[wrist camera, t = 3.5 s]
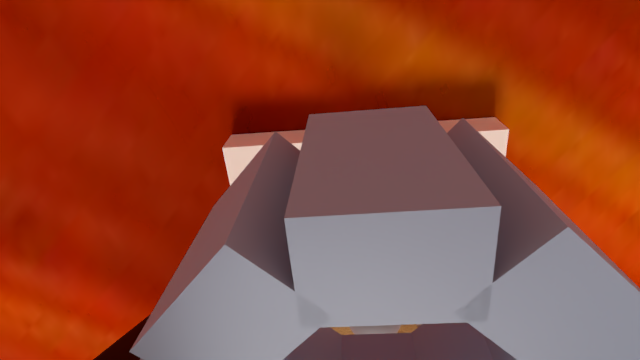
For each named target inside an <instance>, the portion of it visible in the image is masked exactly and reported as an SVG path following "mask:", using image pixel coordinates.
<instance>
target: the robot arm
mask: <svg viewBox="0 0 640 360" xmlns="http://www.w3.org/2000/svg"><path fill="white" fill-rule="evenodd" d="M150 315H151V314H150ZM150 315H149V316H148V317H146V318H145V319H144V320H143V321H141V322H140V323H139V324H138V325H136V326H135V327H134V328H133V329H131V330H130V331H129V332H128V333H126V334H125V335H124V336H122V337H121V338H120V339H119V340H117V341H116V342H115V343H114V344H112V345H111V346H110V347H109V348H107V349H106V350H105V351H104V352H102V353H101V354H100V355H99V356H97V357H96V358H95V359H93V360H140V357H138V356H136V355H134V354H132V353H130V352H129V351H130V350H131V348H132V346H133V344H134V343H135V341H136V339H137V338H138V336H139V334H140V332H141V331H142V329H143V327H144V325H145V324H146V322H147V320H148V319H149V317H150Z"/></svg>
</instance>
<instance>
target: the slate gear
mask: <svg viewBox="0 0 640 360" xmlns="http://www.w3.org/2000/svg"><path fill="white" fill-rule="evenodd" d="M409 324H422V325H421V326H419V327H418V328H417V329H415V330H414V331H413V332H411V333H385V334H355V335H341V334H339V333H338V332H336V331H335V330H333V329H332V328H330V327H351V326H380V325H409ZM129 352H130V353H132V354H134V355H136V356H138V357H140V360H640V288H639V287H638V286H637V285H636V284H635V283H634V282H633V281H632V280H631V279H630V278H629V277H628V276H627V275H626V274H625V273H624V272H623V271H622V270H621V269H620V268H619V267H618V266H617V265H616V264H615V263H614V262H613V261H612V260H611V259H610V258H609V257H608V256H607V255H606V254H605V253H603V252H602V251H601V250H600V249H599V248H598V247H597V246H596V245H595V244H594V243H593V242H592V241H591V240H590V239H589V238H588V237H587V236H586V235H585V234H584V233H583V232H582V231H581V230H580V229H579V228H578V227H577V226H576V225H575V224H574V223H573V222H572V221H571V220H570V219H569V218H568V217H567V216H566V215H565V214H564V213H563V212H562V211H561V210H560V209H559V208H558V207H557V206H556V205H555V204H554V203H553V202H552V201H551V200H550V199H549V198H548V197H547V196H546V195H545V194H544V193H543V192H542V191H541V190H540V189H539V188H538V187H537V186H536V185H535V184H534V183H533V182H532V181H531V180H530V179H529V178H528V177H526V176H525V175H524V174H523V173H522V172H521V171H520V170H519V169H518V168H517V167H516V166H515V165H513V164H512V163H511V162H510V161H509V160H508V159H507V158H506V157H505V156H504V155H503V154H502V153H501V152H499V151H498V150H497V149H496V148H495V147H494V146H493V145H492V144H491V143H490V142H489V141H488V140H487V139H485V138H484V137H483V136H482V135H481V134H480V133H479V132H478V131H477V130H476V129H475V128H474V127H473V126H471V125H470V124H469V123H468V122H467V121H466V120H465V119H464V118H462V119H461V120H460V121H459V122H458V123H457V124H456V125H455V126H454V127H452V128H451V129H450V130H449V131H448V132H447V133H446V131H445V130H444V129H443V127H442V126H441V125H440V123H439V122H438V121H437V119H436V118H435V117H434V115H433V114H432V113H431V111H430V110H429V109H428V107H427V106H412V107H399V108H386V109H373V110H360V111H347V112H334V113H321V114H309V117H308V121H307V125H306V129H305V133H304V137H303V141H302V146H301V150H299V149H297V148H296V147H295V146H294V145H292V144H291V143H290V142H289V141H287V140H286V139H285V138H283V137H282V136H281V135H280V134H278V133H277V132H276V131H275V132H274V134H273V135H272V136H271V137H270V138H269V140H268V141H267V142H266V143H265V145H264V146H263V147H262V148H261V149H260V151H259V152H258V153H257V154H256V155H255V157H254V158H253V159H252V160H251V161H250V163H249V164H248V165H247V166H246V167H245V169H244V170H243V171H242V172H241V173H240V175H239V176H238V177H237V178H236V180H235V181H234V182H233V183H232V184H231V186H230V187H229V188H228V189H227V190H226V192H225V193H224V194H223V195H222V196H221V198H220V199H219V200H218V201H217V202H216V204H215V205H214V206H213V208H212V210H211V211H210V213H209V215H208V217H207V218H206V220H205V222H204V224H203V225H202V227H201V229H200V230H199V232H198V234H197V236H196V237H195V239H194V241H193V243H192V244H191V246H190V248H189V249H188V251H187V253H186V255H185V256H184V258H183V260H182V262H181V263H180V265H179V267H178V268H177V270H176V272H175V274H174V275H173V277H172V279H171V281H170V282H169V284H168V286H167V287H166V289H165V291H164V293H163V294H162V296H161V298H160V300H159V301H158V303H157V305H156V306H155V308H154V310H153V312H152V313H151V315H150V317H149V319H148V320H147V322H146V324H145V325H144V327H143V329H142V331H141V332H140V334H139V336H138V338H137V339H136V341H135V343H134V344H133V346H132V348H131V350H130V351H129Z"/></svg>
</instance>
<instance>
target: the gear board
mask: <svg viewBox="0 0 640 360" xmlns="http://www.w3.org/2000/svg"><path fill="white" fill-rule="evenodd" d="M460 120H461V119H458V120H443V121H438V122H439V123H440V125H441V126H442V127H443V129H444V130H445V131H446V133H447V132H448V131H449V130H450V129H451V128H452V127H454V126H455V125H456V124H457V123H458V122H459V121H460ZM465 120H466V121H467V122H468V123H469V124H470V125H471V126H473V127H474V128H475V129H476V130H477V131H478V132H479V133H480V134H481V135H482V136H483V137H484V138H485V139H487V140H488V141H489V142H490V143H491V144H492V145H493V146H494V147H495V148H496V149H497V150H498V151H499V152H501V153H502V154H503V155H504V156H505V157H506V149H507V142H508V134H509V129H508V128H507V127H506V126H505V125H504V124H503V123H501V122H500V121H499V120H498V119H497V118H496V117H488V118H473V119H465ZM277 133H278V134H280V135H281V136H282V137H283V138H285V139H286V140H287V141H289V142H290V143H291V144H292V145H294V146H295V147H296V148H297V149H299V150H301V146H302V141H303V137H304V133H305V130H294V131H279V132H277ZM273 134H274V132H264V133H249V134H235V135H231V136H230V137H229V139H228V140H227V142H226V143H225V145H224V146H223V147H222V149H223V154H224V159H225V164H226V169H227V173H228V178H229V183H230V186H231V184H232V183H233V182H234V181H235V180H236V178H237V177H238V176H239V175H240V173H241V172H242V171H243V170H244V169H245V167H246V166H247V165H248V164H249V163H250V161H251V160H252V159H253V158H254V157H255V155H256V154H257V153H258V152H259V151H260V149H261V148H262V147H263V146H264V145H265V143H266V142H267V141H268V140H269V138H270V137H271V136H272V135H273ZM416 325H417V327H418V326H421V325H422V324H416ZM400 326H401V325H380V326H351V327H350V329H351V331H352V332H353V333H354V334H385V333H397V332H398V330H399V329H400Z"/></svg>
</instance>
